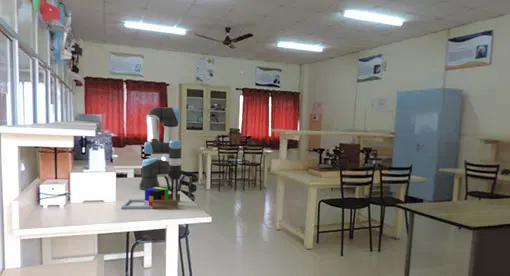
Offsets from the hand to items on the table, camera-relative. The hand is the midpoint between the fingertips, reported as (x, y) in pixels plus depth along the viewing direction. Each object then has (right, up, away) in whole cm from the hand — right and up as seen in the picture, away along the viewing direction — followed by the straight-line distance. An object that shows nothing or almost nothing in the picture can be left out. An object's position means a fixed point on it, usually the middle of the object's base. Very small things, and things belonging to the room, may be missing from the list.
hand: (174, 201), depth 205 cm
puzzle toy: (-11, -2, -2) cm, 11 cm away
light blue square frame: (-20, -1, -3) cm, 21 cm away
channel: (-5, -2, -1) cm, 5 cm away
